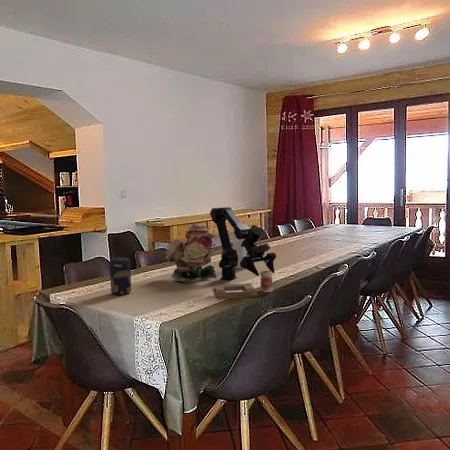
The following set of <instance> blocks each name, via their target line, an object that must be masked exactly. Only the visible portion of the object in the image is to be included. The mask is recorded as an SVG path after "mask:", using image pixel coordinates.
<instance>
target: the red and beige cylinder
mask: <svg viewBox="0 0 450 450" xmlns="http://www.w3.org/2000/svg"><path fill="white" fill-rule="evenodd" d="M259 276H260V292H262V293H271V292H273V289H274V288H273V273H272V272H271V271H270V270H263V271H262V270H261V271H260V273H259Z"/></svg>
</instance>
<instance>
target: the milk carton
mask: <svg viewBox="0 0 450 450" xmlns="http://www.w3.org/2000/svg"><path fill="white" fill-rule="evenodd" d="M243 241H244V239H240V240H238V239H237V238H235V239H234V241H233V243H232V248H233V249H234V250H235V249H236V251H237V255H238V264H237V267H235V269H238V270H240V269H241V270H244V268H241V266H240V262H241V260H242V259H243V257H246V256H247V251H246V249H245V247H241V244H242V242H243Z"/></svg>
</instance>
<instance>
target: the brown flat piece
mask: <svg viewBox="0 0 450 450" xmlns="http://www.w3.org/2000/svg"><path fill="white" fill-rule="evenodd" d="M213 288H214V291H215V294H216V297H217V300H223V299H242V298H243V299H244V298H258V297H259V296H258V292H257V290H256V289H255V287H254V286H253V285H252V283H249V282H248V283H232V284H231V283H229V284H214V287H213ZM233 290H234V291H233ZM235 290H243V291H235ZM227 291H230V292H227Z"/></svg>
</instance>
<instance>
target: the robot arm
mask: <svg viewBox="0 0 450 450" xmlns="http://www.w3.org/2000/svg"><path fill="white" fill-rule="evenodd" d="M209 212H210V213H209V214H210V215H209V216H210V218H211V220H212V222H213V223H214V224H215V225H216V229H217V231H218V232H217V233H218V236H219V239H220V241H219V242H220V245H221V248H222V249H221V250H222V252H221V254H220V255H221V256H220V258H221V259H220V261H219V262H218V267H219V268H220V269H221V277H220V280H228V281H231V280H233V279H237V276H236V268H235V267H237V264H238V255H237V251H236V249H235V250H234V249H233V246H232V244H231V240H230V236H229V235H230V234H229V232H228V228H227V223H226V221H228V223H229V224H230V226H231V227H232V228H233V234H234V235H235V237H236V238H237V239H238V240H240V239H244V241H243V242H242V244H241V247H245V249H246V251H247V256H246V257H243V259H242V260H241V262H240V266H241V268H244V269H245V270H248V272H251V273H252V274H253V275H255V276H257V277H259V276H260V273H259V271H258V270H257V267H256V264H255V263H259V262H264V264H265V266H266V267H267V268H268V269H269V270H268V271H271V272H272V274H275V267H274V266H275V265H274V261H275V260H276V259H277V256H278V255H277V254H276V252H268V251H269V250H271V246H270V244H269V242H265V243H263V244H259V245H257V243H258V242H259V240H260V239H261V238H262V236H263V235H264V231H263V229H262V228H260V227H259V226H257V224H252V226H251V227H249V226H248V225H247V224H244V223H242V222H241V220H240V219H239V218H238V216H237V215H236V214H235V212H234V211H233V210H232V207H230V206H225V207H212V208H211V210H210V211H209ZM236 238H235V239H236ZM266 252H267V253H266ZM265 254H266V255H265ZM244 269H243V270H244Z"/></svg>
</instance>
